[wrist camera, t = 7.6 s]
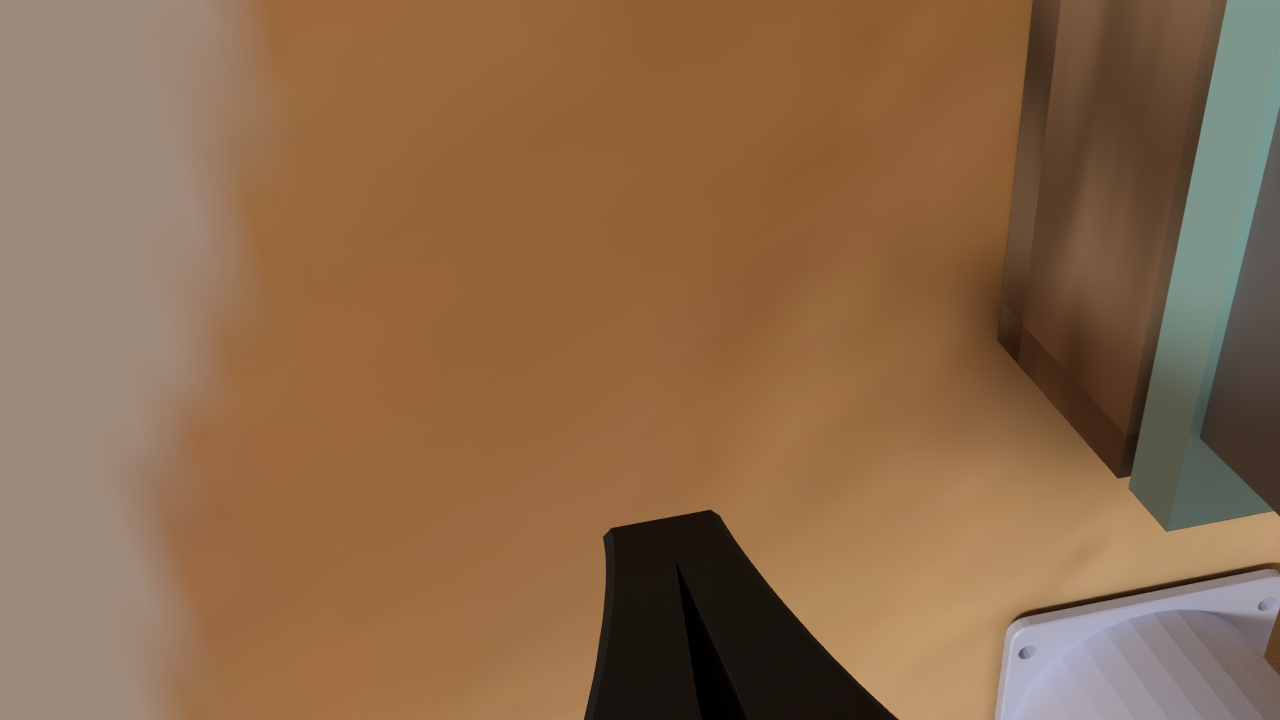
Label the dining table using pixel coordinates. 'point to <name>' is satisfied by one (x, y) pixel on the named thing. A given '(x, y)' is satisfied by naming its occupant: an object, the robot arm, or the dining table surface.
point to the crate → (1103, 202)
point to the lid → (1223, 301)
